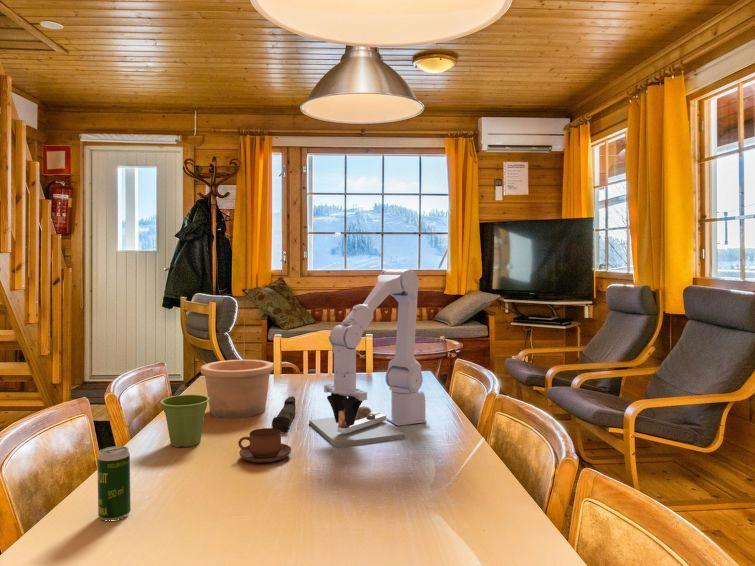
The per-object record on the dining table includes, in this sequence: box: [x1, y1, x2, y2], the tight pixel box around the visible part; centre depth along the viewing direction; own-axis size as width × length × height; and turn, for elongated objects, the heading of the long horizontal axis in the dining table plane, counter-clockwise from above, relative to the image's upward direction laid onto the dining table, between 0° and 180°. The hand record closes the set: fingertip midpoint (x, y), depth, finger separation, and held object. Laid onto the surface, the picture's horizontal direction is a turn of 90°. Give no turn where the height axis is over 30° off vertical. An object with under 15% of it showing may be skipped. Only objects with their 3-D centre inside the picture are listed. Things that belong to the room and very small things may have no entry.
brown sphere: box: [359, 406, 372, 419], centre depth 169 cm, size 4×4×4 cm
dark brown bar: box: [271, 396, 297, 434], centre depth 171 cm, size 23×5×6 cm, turn 177°
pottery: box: [200, 359, 275, 419], centre depth 182 cm, size 22×22×14 cm
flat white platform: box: [308, 404, 406, 448], centre depth 161 cm, size 19×23×4 cm
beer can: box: [96, 445, 132, 521], centre depth 107 cm, size 5×5×12 cm
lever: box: [337, 408, 387, 434], centre depth 160 cm, size 18×5×6 cm, turn 141°
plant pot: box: [160, 394, 210, 448], centre depth 150 cm, size 12×12×11 cm
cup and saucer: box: [238, 427, 292, 464], centre depth 139 cm, size 12×12×6 cm
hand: (344, 423), depth 153 cm, fingers open, 4 cm apart
